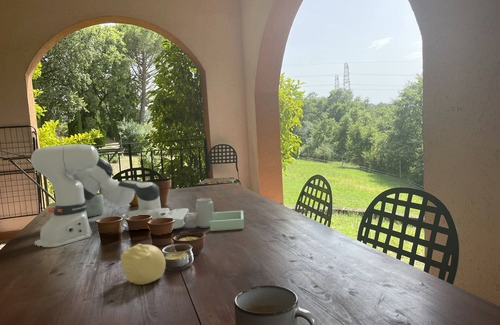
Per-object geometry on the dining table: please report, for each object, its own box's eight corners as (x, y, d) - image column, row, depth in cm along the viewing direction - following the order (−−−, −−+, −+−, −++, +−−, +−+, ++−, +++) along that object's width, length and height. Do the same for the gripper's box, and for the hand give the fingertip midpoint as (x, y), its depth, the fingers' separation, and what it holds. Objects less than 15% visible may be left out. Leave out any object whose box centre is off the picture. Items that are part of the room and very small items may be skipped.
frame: (210, 230, 162) (209, 221, 162) (212, 221, 178) (212, 212, 178) (244, 228, 163) (243, 219, 162) (243, 219, 179) (243, 210, 178)
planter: (109, 212, 213) (107, 192, 212) (98, 217, 201) (95, 196, 200) (87, 212, 214) (85, 193, 213) (75, 218, 202) (72, 197, 201)
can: (211, 228, 166) (209, 200, 165) (194, 228, 168) (192, 200, 167) (216, 223, 174) (214, 197, 172) (200, 223, 175) (198, 197, 174)
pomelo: (117, 282, 114) (113, 246, 113) (153, 269, 123) (150, 235, 121) (136, 292, 106) (132, 253, 105) (174, 278, 114) (170, 242, 113)
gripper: (169, 219, 181) (199, 217, 182) (160, 232, 161) (194, 230, 161) (168, 205, 181) (198, 204, 181) (159, 217, 160) (193, 215, 160)
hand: (196, 216), depth 171 cm, fingers closed
